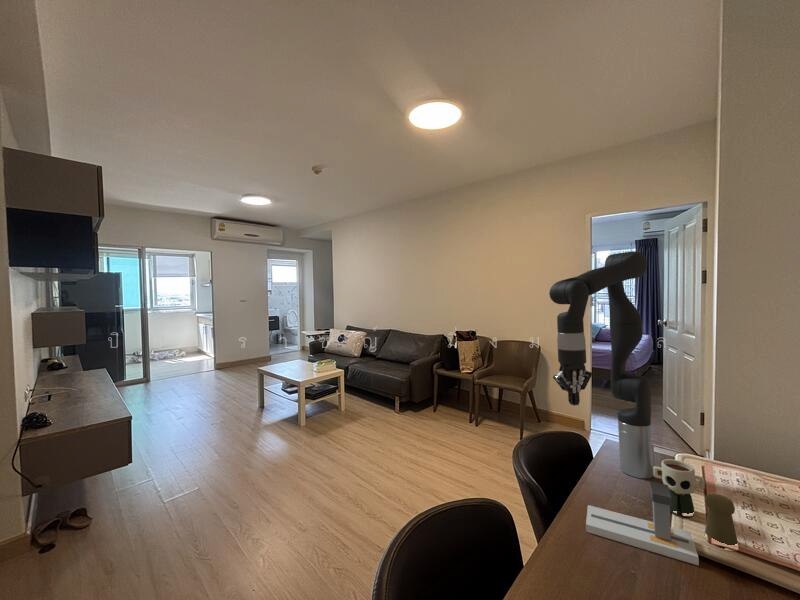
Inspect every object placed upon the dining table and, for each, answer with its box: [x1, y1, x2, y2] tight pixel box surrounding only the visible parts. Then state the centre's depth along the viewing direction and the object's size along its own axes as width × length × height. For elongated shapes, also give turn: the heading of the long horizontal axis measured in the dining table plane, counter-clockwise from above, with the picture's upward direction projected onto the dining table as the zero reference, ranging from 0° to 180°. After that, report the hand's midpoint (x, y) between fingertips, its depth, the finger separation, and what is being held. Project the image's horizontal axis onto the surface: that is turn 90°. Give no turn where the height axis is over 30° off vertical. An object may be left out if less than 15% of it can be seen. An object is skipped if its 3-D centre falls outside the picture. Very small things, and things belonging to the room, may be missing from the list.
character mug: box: [653, 458, 706, 514], centre depth 91 cm, size 11×7×13 cm, turn 49°
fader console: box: [585, 504, 700, 567], centre depth 83 cm, size 22×9×2 cm, turn 57°
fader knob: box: [649, 480, 672, 541], centre depth 80 cm, size 4×6×11 cm, turn 147°
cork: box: [704, 493, 739, 545], centre depth 80 cm, size 6×6×11 cm
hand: (574, 404), depth 98 cm, fingers closed
